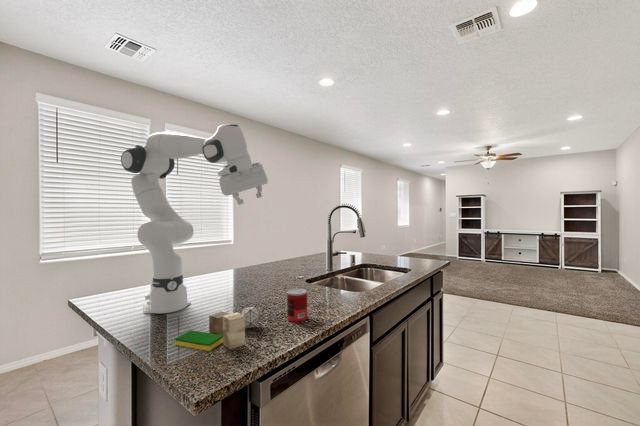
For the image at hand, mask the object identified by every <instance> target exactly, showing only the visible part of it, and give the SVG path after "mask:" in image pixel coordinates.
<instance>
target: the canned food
mask: <svg viewBox="0 0 640 426" xmlns="http://www.w3.org/2000/svg"><path fill="white" fill-rule="evenodd" d="M286 292H287V293H286V294H287V295H286V299H287V300H286V304H287V306H286V307H287V308H286V309H287V310H286V312H287V315H286V317H287V321H289V322H290V323H297V324H298V323H303V322H305V321H306V320H308V319H307V318H308V291H307V289H304V288H293V289H292V288H291V289H289V290H287V291H286Z"/></svg>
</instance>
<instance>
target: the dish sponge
mask: <svg viewBox="0 0 640 426" xmlns="http://www.w3.org/2000/svg"><path fill="white" fill-rule="evenodd" d="M221 344H223V334H221V335H218V334H213V333H210V332H204V331H198V330H189V331H187V332H185V333H182V334H180V335H179V336H177V337H175V338H174V346H180V347H185V348H190V349H196V350H200V351H207V352H210V351H212V350H213V349H215V348H216V347H218V346H219V345H221Z"/></svg>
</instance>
